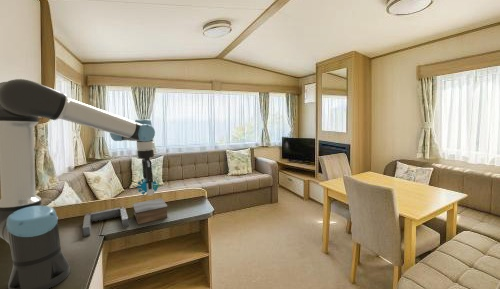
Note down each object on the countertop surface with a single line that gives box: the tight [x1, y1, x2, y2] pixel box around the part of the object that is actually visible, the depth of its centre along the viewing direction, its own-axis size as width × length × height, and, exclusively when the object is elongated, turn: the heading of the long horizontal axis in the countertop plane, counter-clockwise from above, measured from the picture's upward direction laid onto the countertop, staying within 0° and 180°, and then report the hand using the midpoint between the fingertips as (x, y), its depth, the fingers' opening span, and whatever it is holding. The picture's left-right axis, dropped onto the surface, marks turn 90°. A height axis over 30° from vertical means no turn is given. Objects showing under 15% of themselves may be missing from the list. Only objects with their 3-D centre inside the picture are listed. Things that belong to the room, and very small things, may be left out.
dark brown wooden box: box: [132, 197, 169, 225], centre depth 127 cm, size 15×15×6 cm
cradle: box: [82, 206, 130, 238], centre depth 119 cm, size 18×18×4 cm
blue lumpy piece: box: [136, 178, 160, 196], centre depth 127 cm, size 11×6×10 cm
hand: (149, 192), depth 126 cm, fingers closed on blue lumpy piece, 8 cm apart
